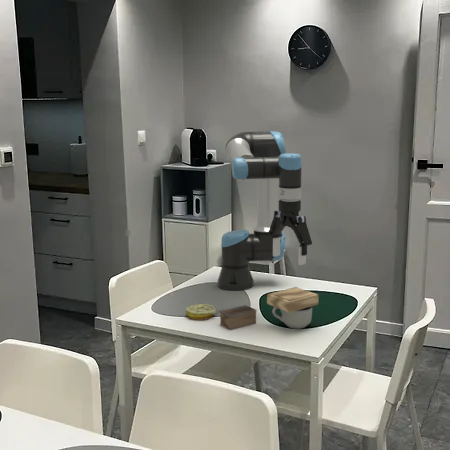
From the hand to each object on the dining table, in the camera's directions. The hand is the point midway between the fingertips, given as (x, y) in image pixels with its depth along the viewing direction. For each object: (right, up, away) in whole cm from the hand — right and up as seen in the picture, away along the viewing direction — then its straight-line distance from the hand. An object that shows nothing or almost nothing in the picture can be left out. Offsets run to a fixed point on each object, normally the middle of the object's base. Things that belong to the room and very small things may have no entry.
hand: (288, 260), depth 211 cm
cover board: (+1, -15, 0) cm, 15 cm away
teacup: (+1, -23, +2) cm, 23 cm away
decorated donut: (-31, -22, +12) cm, 40 cm away
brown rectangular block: (-18, -23, +4) cm, 29 cm away
